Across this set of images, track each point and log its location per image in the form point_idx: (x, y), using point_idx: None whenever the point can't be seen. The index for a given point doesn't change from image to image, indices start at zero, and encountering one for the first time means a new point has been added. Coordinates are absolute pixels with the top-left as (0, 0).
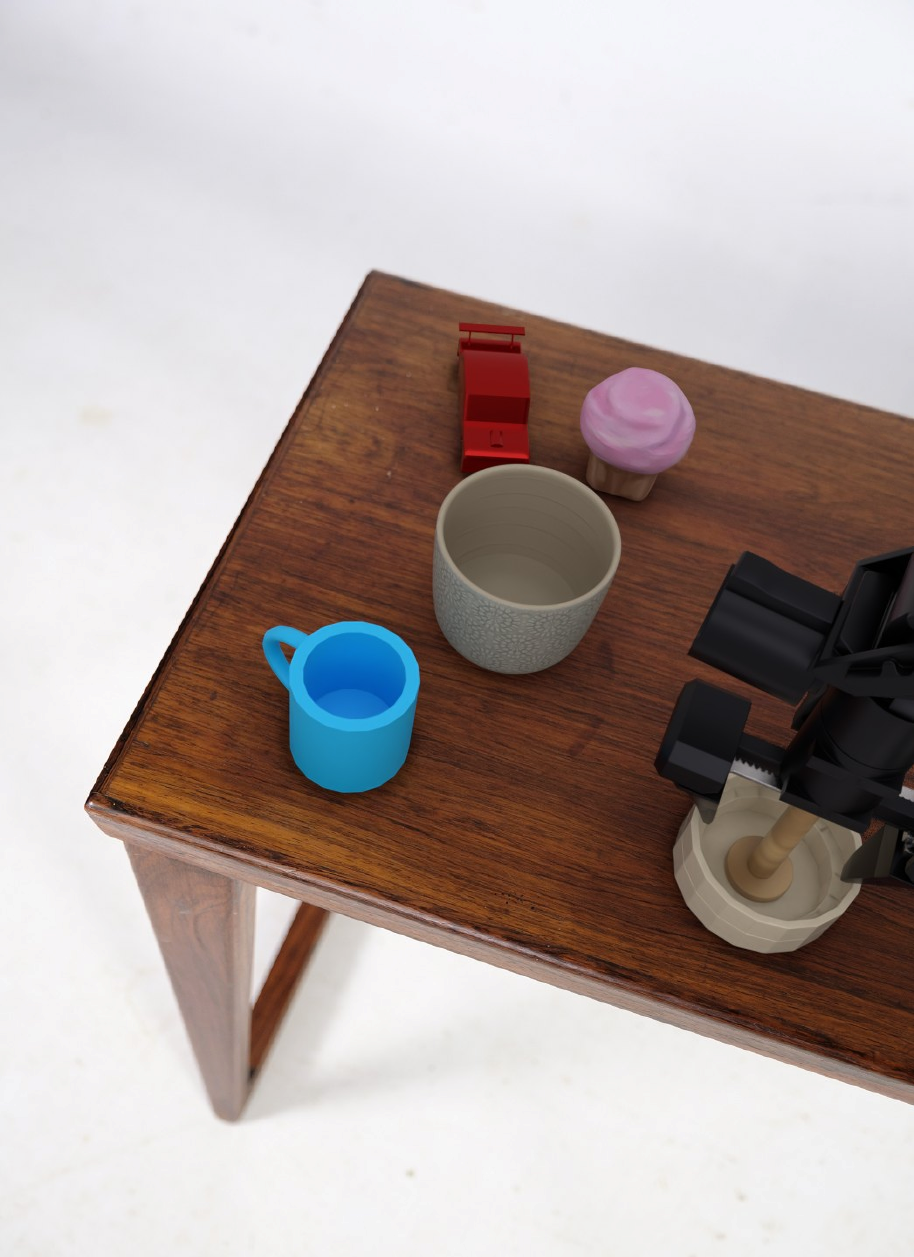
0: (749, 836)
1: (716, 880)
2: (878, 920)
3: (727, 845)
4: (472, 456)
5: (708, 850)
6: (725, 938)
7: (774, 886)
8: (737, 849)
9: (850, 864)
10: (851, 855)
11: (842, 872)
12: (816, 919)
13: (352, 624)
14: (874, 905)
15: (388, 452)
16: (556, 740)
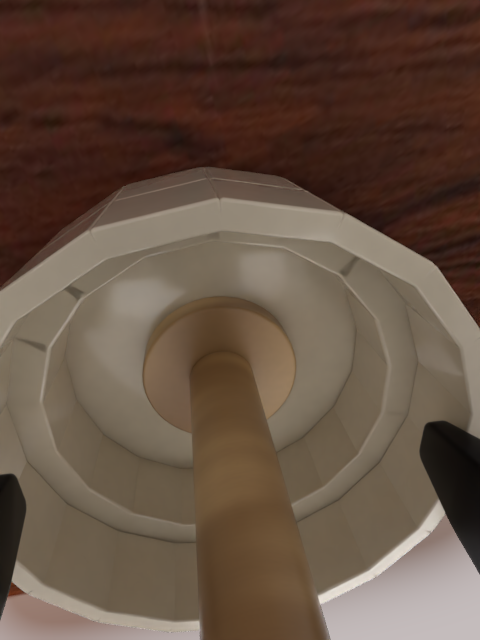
0: (171, 326)
1: (122, 615)
2: (471, 312)
3: (137, 344)
4: None
5: (105, 372)
6: None
7: (263, 399)
8: (158, 368)
9: (462, 495)
10: (463, 458)
11: (426, 445)
12: (372, 569)
13: None
14: (464, 288)
15: None
16: None
